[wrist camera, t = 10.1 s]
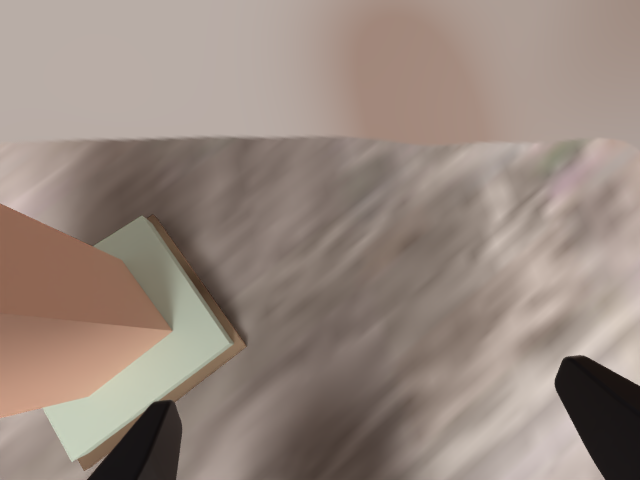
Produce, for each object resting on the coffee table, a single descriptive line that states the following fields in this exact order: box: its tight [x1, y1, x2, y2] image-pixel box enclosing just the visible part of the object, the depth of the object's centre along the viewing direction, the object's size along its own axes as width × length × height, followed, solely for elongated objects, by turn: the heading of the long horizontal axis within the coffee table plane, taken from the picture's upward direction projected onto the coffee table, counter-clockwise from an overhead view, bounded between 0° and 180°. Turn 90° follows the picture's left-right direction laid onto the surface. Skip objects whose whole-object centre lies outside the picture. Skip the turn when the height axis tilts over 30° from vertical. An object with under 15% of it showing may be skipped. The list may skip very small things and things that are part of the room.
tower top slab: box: [43, 215, 234, 462], centre depth 20 cm, size 9×9×2 cm
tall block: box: [0, 204, 173, 418], centre depth 14 cm, size 5×5×12 cm
